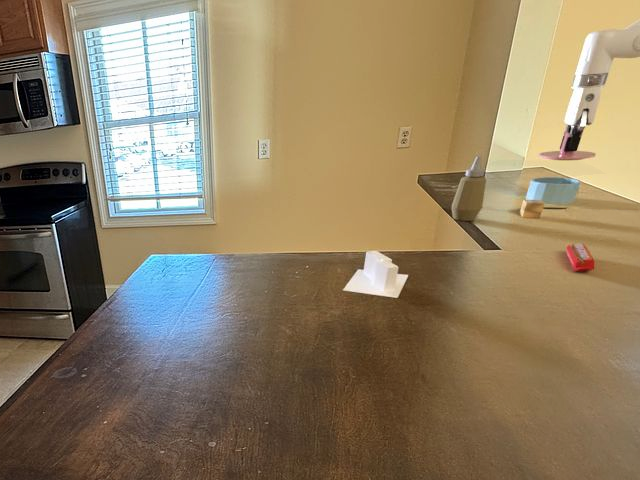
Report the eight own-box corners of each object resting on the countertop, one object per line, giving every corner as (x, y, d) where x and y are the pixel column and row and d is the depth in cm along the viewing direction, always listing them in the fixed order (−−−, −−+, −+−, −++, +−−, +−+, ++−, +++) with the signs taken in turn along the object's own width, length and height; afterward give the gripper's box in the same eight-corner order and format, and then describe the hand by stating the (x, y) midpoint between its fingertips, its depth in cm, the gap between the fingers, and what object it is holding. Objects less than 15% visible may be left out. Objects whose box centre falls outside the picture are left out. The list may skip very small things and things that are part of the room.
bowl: (566, 201, 158) (574, 177, 154) (577, 209, 148) (587, 184, 144) (520, 200, 162) (527, 177, 158) (528, 208, 152) (536, 184, 149)
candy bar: (562, 252, 117) (567, 240, 115) (581, 253, 115) (586, 241, 113) (572, 273, 105) (577, 260, 103) (593, 275, 103) (599, 262, 102)
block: (536, 214, 146) (541, 199, 144) (539, 218, 143) (544, 203, 141) (519, 214, 148) (523, 199, 146) (522, 217, 144) (526, 202, 142)
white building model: (357, 269, 116) (360, 246, 113) (408, 274, 111) (413, 250, 108) (342, 290, 105) (345, 265, 102) (398, 298, 100) (403, 271, 97)
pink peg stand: (586, 154, 151) (594, 128, 147) (601, 160, 140) (610, 133, 136) (533, 155, 156) (540, 131, 152) (543, 162, 145) (551, 136, 141)
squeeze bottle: (443, 216, 151) (457, 155, 142) (470, 215, 151) (485, 153, 142) (456, 223, 144) (472, 159, 135) (484, 221, 144) (501, 157, 135)
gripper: (616, 81, 130) (591, 153, 139) (596, 79, 143) (575, 146, 152) (581, 83, 133) (560, 154, 142) (565, 82, 146) (546, 147, 155)
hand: (568, 149), depth 147 cm, fingers closed on pink peg stand, 3 cm apart
